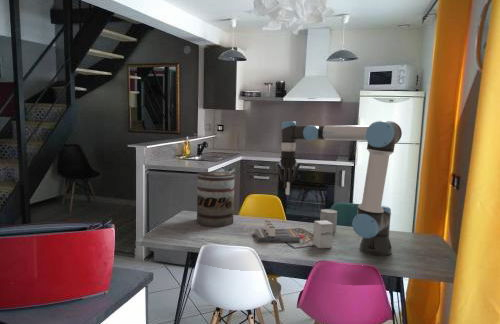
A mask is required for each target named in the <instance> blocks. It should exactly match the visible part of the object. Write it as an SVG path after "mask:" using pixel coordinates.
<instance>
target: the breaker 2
mask: <svg viewBox="0 0 500 324" xmlns="http://www.w3.org/2000/svg"><path fill="white" fill-rule="evenodd" d="M275 229H276V226H274V225H273V226H269V227H268V236H275Z"/></svg>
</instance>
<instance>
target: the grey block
mask: <svg viewBox="0 0 500 324" xmlns="http://www.w3.org/2000/svg"><path fill="white" fill-rule="evenodd" d="M319 217H320V218H319V221H323V220H327V221H329V222H331V223H333V234H334V235H335V234H336V233H337V222H338V211H337V210H336V209H332V208H324V209H323V208H322V209H320V216H319Z"/></svg>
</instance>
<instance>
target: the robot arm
mask: <svg viewBox="0 0 500 324" xmlns="http://www.w3.org/2000/svg"><path fill="white" fill-rule="evenodd" d="M402 134H403V133H402V127H400V125H399V124H398V123H396V122H394V121H391V120H382V119H381V120H376V121H374V122H372V123H371V124H370V125H311V124H310V125H309V124H306V125H305V124H304V125H298V124H297V121H282V124H281V147H280V148H281V151H280V152H281V153H280V155H281V156H280V157H281V158H280V159H279V162H277V163H276V164H275V166H276V168H277V169H278V175H279V178H280V181H281V182H282V183H283V188H284V189H285V193H284V194H285V195H286V196H290V189H292V183H293V182H295V181H296V177H297V173H298V172H299V171H298V170H299V167H300V166H301V164H300V163H299V162H297V160H296V143H297V141H298V140H300V141H315V140H316V141H318V140H319V141H351V142H352V141H355V142H357V141H359V142H362V141H363V142H367V146H366V150H367V151H368V153H369V155H368V161H367V168H366V174H365V182H364V187H363V188H364V189H363V191H362V192H363V193H362V201H361V203H360V204H359V205H358V206H357V211H356V215H355V216H354V218H353V219H352V223H351V225H352V229H353V231H354V232H355V234H356V235H358V237H361V238H362V239H361V242H360V243H359V250H360V251H362V252H363V253H366V254H369V255H372V256H374V255H375V256H389V255H391V254H392V253H393V247H392V243H391V239H390V229H391V217H392V212H391V211H392V210H391V208H390V206H385V205H382V204H383V198H384V197H383V196H384V190H385V185H386V179H387V172H388V166H389V160H390V155H392V154H393V153H394V152H395V146H396V145H397V143H398V142H400V141H401V138H402ZM296 140H297V141H296ZM282 167H283V171H282ZM293 168H294V169H293Z"/></svg>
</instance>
